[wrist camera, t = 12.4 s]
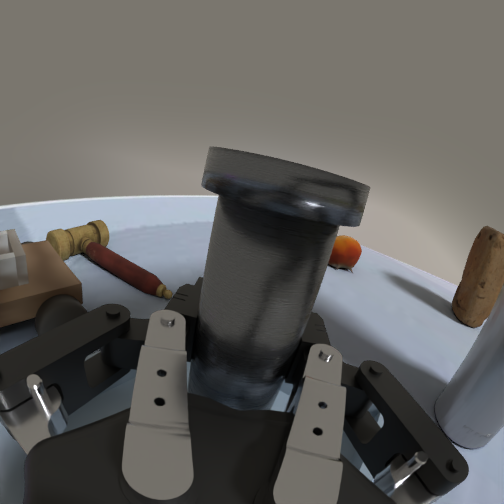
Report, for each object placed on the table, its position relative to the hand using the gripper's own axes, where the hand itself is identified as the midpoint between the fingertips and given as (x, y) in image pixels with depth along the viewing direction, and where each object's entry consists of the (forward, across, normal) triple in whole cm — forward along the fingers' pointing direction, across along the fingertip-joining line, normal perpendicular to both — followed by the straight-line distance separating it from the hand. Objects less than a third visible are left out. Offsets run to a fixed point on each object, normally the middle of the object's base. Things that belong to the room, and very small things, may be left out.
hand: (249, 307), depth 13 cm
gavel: (+18, +18, +11) cm, 28 cm away
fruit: (+44, -19, +10) cm, 49 cm away
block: (+29, -47, +10) cm, 56 cm away
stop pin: (-3, 0, +8) cm, 9 cm away
